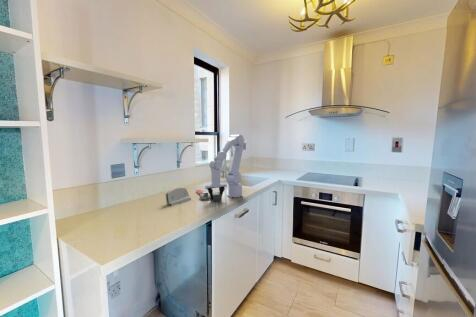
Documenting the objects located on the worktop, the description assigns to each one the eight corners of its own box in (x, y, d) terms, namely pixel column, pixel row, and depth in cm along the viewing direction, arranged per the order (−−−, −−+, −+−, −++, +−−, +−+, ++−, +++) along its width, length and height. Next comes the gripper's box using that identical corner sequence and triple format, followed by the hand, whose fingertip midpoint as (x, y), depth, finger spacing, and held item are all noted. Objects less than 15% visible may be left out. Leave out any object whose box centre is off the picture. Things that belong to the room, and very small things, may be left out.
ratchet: (203, 191, 167) (203, 185, 166) (212, 199, 144) (212, 192, 143) (193, 192, 163) (193, 186, 163) (201, 201, 141) (201, 194, 140)
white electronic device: (171, 206, 130) (167, 190, 131) (167, 207, 133) (163, 191, 134) (191, 199, 144) (187, 185, 145) (187, 200, 146) (183, 186, 147)
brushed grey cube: (218, 199, 144) (218, 192, 144) (221, 201, 139) (221, 194, 139) (210, 200, 142) (210, 193, 142) (213, 202, 137) (213, 195, 136)
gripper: (224, 176, 146) (224, 195, 147) (203, 178, 140) (203, 198, 141) (227, 178, 139) (227, 198, 141) (206, 180, 133) (206, 201, 135)
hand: (216, 198), depth 140 cm, fingers closed on brushed grey cube, 6 cm apart
